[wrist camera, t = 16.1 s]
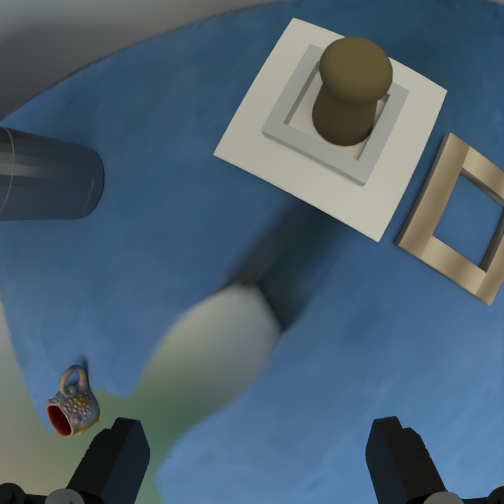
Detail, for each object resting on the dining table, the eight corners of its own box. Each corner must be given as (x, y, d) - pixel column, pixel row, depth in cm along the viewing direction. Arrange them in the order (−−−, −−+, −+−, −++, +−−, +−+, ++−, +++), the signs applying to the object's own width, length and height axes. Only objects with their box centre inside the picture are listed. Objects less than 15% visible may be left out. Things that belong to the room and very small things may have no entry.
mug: (100, 428, 40) (77, 450, 33) (67, 405, 41) (41, 423, 34) (110, 371, 38) (81, 392, 31) (72, 346, 39) (41, 363, 32)
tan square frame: (393, 243, 29) (398, 245, 27) (443, 137, 27) (450, 132, 25) (481, 301, 28) (490, 305, 26) (525, 201, 26) (535, 200, 24)
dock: (216, 156, 32) (205, 150, 29) (294, 23, 29) (291, 6, 26) (376, 241, 30) (383, 244, 26) (443, 94, 27) (454, 83, 23)
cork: (334, 79, 28) (343, 11, 17) (384, 113, 27) (418, 57, 16) (299, 121, 29) (294, 63, 18) (351, 159, 28) (376, 115, 17)
